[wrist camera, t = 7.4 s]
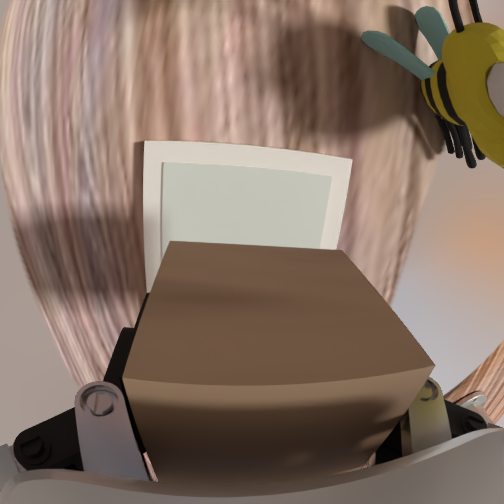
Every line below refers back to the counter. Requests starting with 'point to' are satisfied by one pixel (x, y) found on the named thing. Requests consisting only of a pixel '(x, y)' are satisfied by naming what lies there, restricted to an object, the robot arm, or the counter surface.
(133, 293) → the counter surface
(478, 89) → the toy
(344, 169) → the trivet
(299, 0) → the counter surface
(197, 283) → the walnut cube
